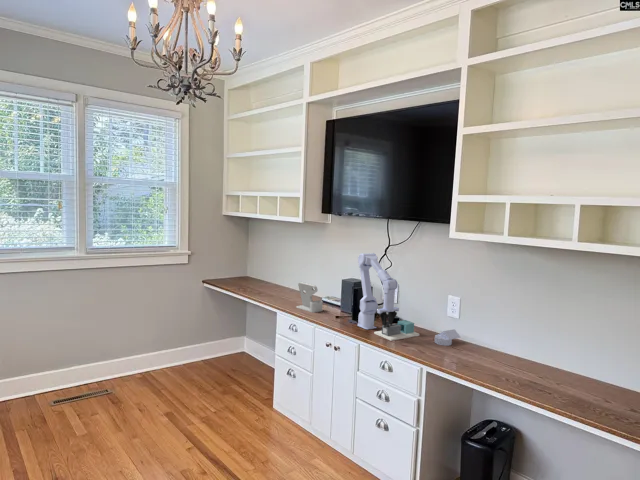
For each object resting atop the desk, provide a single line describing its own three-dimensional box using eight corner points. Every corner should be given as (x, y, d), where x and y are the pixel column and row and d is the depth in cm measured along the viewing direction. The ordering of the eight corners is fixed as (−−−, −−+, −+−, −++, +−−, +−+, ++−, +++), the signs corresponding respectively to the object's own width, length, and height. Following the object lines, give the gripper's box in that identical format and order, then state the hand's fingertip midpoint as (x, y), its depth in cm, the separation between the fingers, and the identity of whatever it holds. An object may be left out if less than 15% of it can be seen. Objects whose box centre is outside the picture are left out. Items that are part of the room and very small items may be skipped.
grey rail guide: (381, 333, 250) (382, 325, 249) (394, 331, 255) (395, 323, 255) (387, 336, 246) (388, 327, 245) (400, 333, 251) (401, 325, 251)
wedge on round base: (447, 338, 251) (430, 341, 244) (448, 327, 250) (431, 329, 244) (460, 343, 243) (443, 346, 237) (461, 331, 243) (444, 334, 236)
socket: (397, 330, 258) (397, 321, 257) (404, 329, 261) (405, 319, 261) (405, 333, 252) (406, 324, 252) (413, 332, 256) (414, 323, 255)
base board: (374, 333, 253) (374, 331, 253) (401, 328, 265) (402, 327, 265) (391, 340, 241) (391, 338, 241) (419, 335, 254) (419, 333, 254)
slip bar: (382, 332, 249) (383, 321, 248) (395, 330, 254) (396, 319, 254) (386, 334, 246) (387, 322, 246) (399, 331, 252) (400, 320, 251)
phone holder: (324, 310, 297) (325, 284, 296) (313, 313, 290) (315, 285, 288) (305, 305, 309) (307, 279, 308) (295, 307, 302) (296, 281, 300)
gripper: (384, 303, 239) (382, 328, 241) (403, 301, 248) (401, 325, 249) (375, 300, 245) (373, 324, 246) (394, 298, 253) (392, 321, 255)
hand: (387, 324), depth 248 cm, fingers open, 4 cm apart
